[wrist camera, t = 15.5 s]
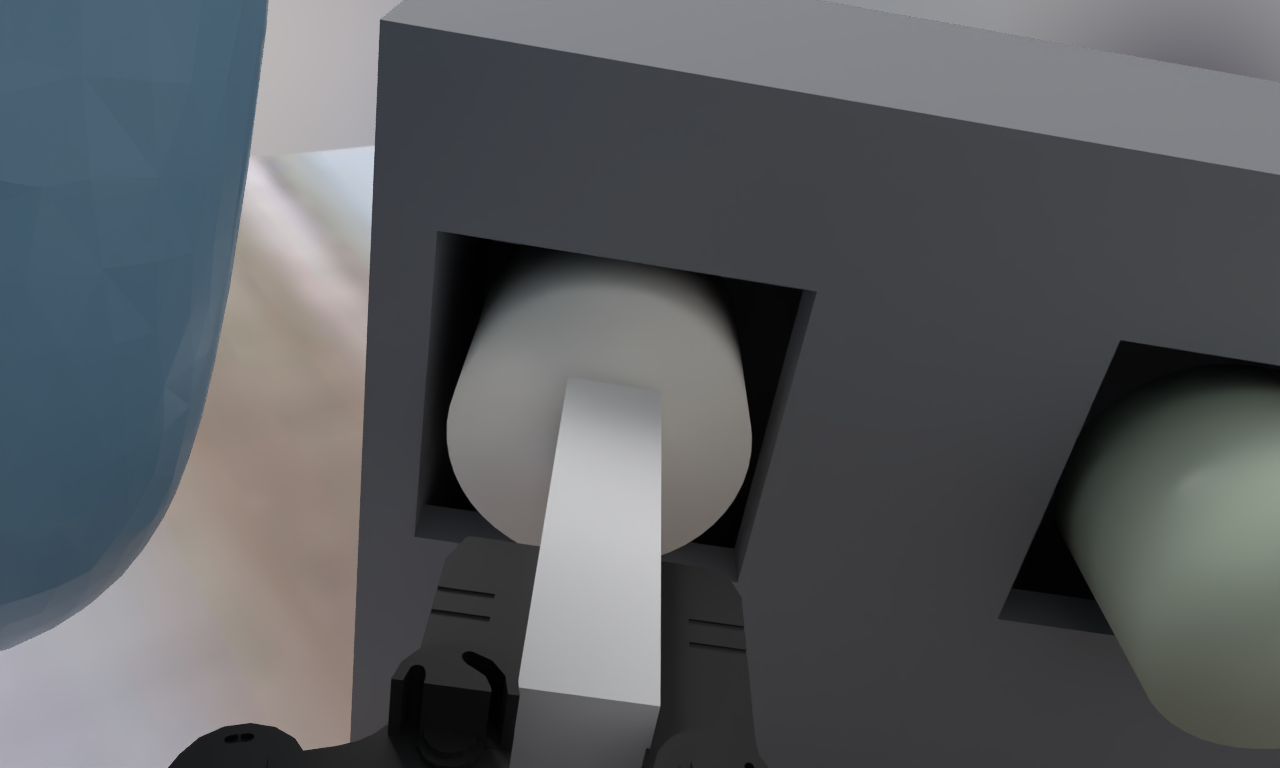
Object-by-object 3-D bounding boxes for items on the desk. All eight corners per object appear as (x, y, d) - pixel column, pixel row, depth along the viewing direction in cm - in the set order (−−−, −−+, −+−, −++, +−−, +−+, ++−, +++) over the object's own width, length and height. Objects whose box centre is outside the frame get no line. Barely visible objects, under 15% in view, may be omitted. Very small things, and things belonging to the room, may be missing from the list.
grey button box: (1672, 923, 24) (2283, 347, 17) (349, 755, 22) (380, 19, 15) (1423, 644, 32) (1764, 168, 24) (431, 501, 30) (478, -62, 22)
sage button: (1379, 767, 17) (1558, 527, 15) (1089, 727, 17) (1222, 475, 15) (1259, 603, 21) (1388, 387, 18) (1016, 568, 21) (1114, 343, 18)
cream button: (718, 582, 19) (782, 334, 16) (436, 543, 18) (459, 283, 16) (709, 458, 22) (761, 238, 20) (472, 422, 22) (495, 194, 19)
